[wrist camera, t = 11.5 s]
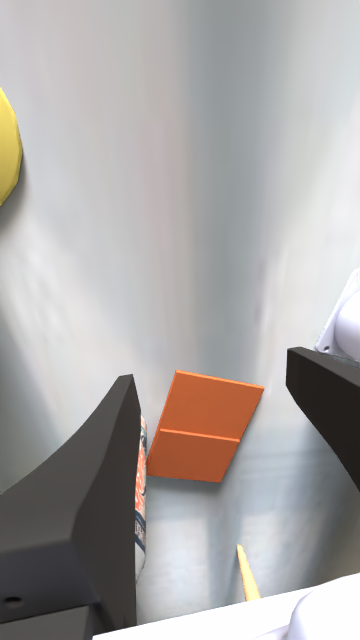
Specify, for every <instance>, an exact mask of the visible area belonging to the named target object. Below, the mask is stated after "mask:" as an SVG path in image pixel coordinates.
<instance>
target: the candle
mask: <svg viewBox="0 0 360 640" xmlns="http://www.w3.org/2000/svg"><path fill="white" fill-rule="evenodd" d="M22 152H23V150H22V145H21V140H20V135H19V131H18V126H17V121H16V116H15V112H14V111H13V109H12V107H11V105H10V103H9V102H8V100H7V98H6V96H5V95H4V93H3V91H2V89H1V88H0V206H1V205H2V204H3V203H4V201H5V200H6V198H7V197H8V196H9V194H10V193H11V191H12V190H13V188H14V187H15V186H16V184H17V183H18V177H19V171H20V164H21V158H22Z"/></svg>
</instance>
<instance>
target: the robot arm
mask: <svg viewBox="0 0 360 640" xmlns="http://www.w3.org/2000/svg"><path fill="white" fill-rule="evenodd" d="M326 346H327V347H326ZM325 347H326V348H325ZM324 348H325V349H324ZM315 349H316V350H317V351H318V352H321V353H325V354H330V355H334V356H338V357H343V358H347V359H351V360H356V361H358V362H359V363H360V268H358V269H356V270H354V271H353V273H352V275H351V277H350V279H349V281H348V282H347V284H346V286H345V288H344V290H343V292H342V294H341V296H340V298H339V300H338V302H337V304H336V306H335V308H334V310H333V312H332V314H331V315H330V317H329V319H328V321H327V323H326V325H325V327H324V329H323V331H322V333H321V335H320V337H319V339H318V341H317V343H316V345H315ZM286 386H287V388H288V390H289V392H290V394H291V395H292V397H293V399H294V400H295V402H296V404H297V405H298V406H299V407H300V409H301V410H302V411H303V413H304V414H305V415H306V417H307V418H308V419H309V420H310V422H311V423H312V424H313V425H314V427H315V428H316V429H317V430H318V432H319V433H320V434H321V435H322V437H323V438H324V439H325V440H326V442H327V443H328V444H329V446H330V447H331V448H332V450H333V451H334V452H335V454H336V455H337V457H338V458H339V460H340V461H341V463H342V464H343V466H344V467H345V469H346V471H347V472H348V474H349V475H350V477H351V478H352V480H353V482H354V483H355V485H356V486H357V488H358V490H359V491H360V369H359V368H356V367H353V366H351V365H348V364H345V363H343V362H340V361H338V360H335V359H332V358H330V357H327V356H325V355H322V354H320V353H317V352H315V351H312V350H309V349H306V348H303V347H295V348H289V349H287V369H286ZM140 439H141V409H140V404H139V400H138V395H137V391H136V386H135V382H134V377H133V374H130V375H124V376H119V377H118V378H117V380H116V381H115V383H114V384H113V386H112V387H111V389H110V390H109V391H108V393H107V394H106V396H105V397H104V398H103V400H102V401H101V403H100V404H99V405H98V407H97V408H96V409H95V411H94V412H93V413H92V414H91V415H90V417H89V418H88V419H87V420H86V421H85V423H84V424H83V425H82V426H81V427H80V428H79V429H78V430H77V432H76V433H75V434H74V435H73V436H72V437H71V438H70V439H69V440H68V441H67V442H66V443H65V444H63V445H62V446H61V447H60V448H59V449H58V450H57V451H56V452H55V453H53V454H52V455H51V456H50V457H49V458H48V459H47V460H46V461H44V462H43V463H42V464H41V465H40V466H38V467H37V468H36V469H35V470H33V471H32V472H31V473H30V474H28V475H27V476H26V477H24V478H23V479H22V480H20V481H19V482H18V483H17V484H15V485H14V486H12V487H11V488H10V489H8V490H7V491H5V492H4V493H2V494H1V495H0V640H360V573H358V574H354V575H349V576H345V577H341V578H338V579H336V580H333V581H330V582H327V583H324V584H322V585H319V586H315V587H311V588H306V589H302V590H297V591H293V592H288V593H284V594H279V595H275V596H270V597H266V598H261V599H257V600H252V601H248V602H243V603H239V604H234V605H230V606H225V607H221V608H216V609H212V610H207V611H203V612H198V613H194V614H189V615H185V616H180V617H176V618H171V619H167V620H162V621H158V622H153V623H149V624H144V625H140V626H137V624H136V574H135V492H136V478H137V468H138V459H139V449H140Z"/></svg>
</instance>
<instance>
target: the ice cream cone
mask: <svg viewBox="0 0 360 640" xmlns="http://www.w3.org/2000/svg"><path fill="white" fill-rule="evenodd" d="M237 552H238V558H239V563H240V569H241V576H242V581H243V587H244V594H245V599H246V602H248V601H252V600H257V599H261V597H260V594H259V591H258V588H257V586H256V583H255V581H254V578H253V575H252V572H251V570H250V567H249V565H248V562H247V559H246V556H245V554H244V551H243V548H242V546H241V545H240V544H238V545H237Z"/></svg>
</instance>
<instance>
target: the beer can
mask: <svg viewBox="0 0 360 640" xmlns="http://www.w3.org/2000/svg"><path fill="white" fill-rule="evenodd" d="M146 439H147V425H146V421H145V419H144V417H143V416H142V415H141V439H140V449H139V459H138V468H137V478H136V492H135V574H136V583H137V580H138V576H139V573H140V572H141V570H142V568H143V566H144V563H145V534H146Z"/></svg>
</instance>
